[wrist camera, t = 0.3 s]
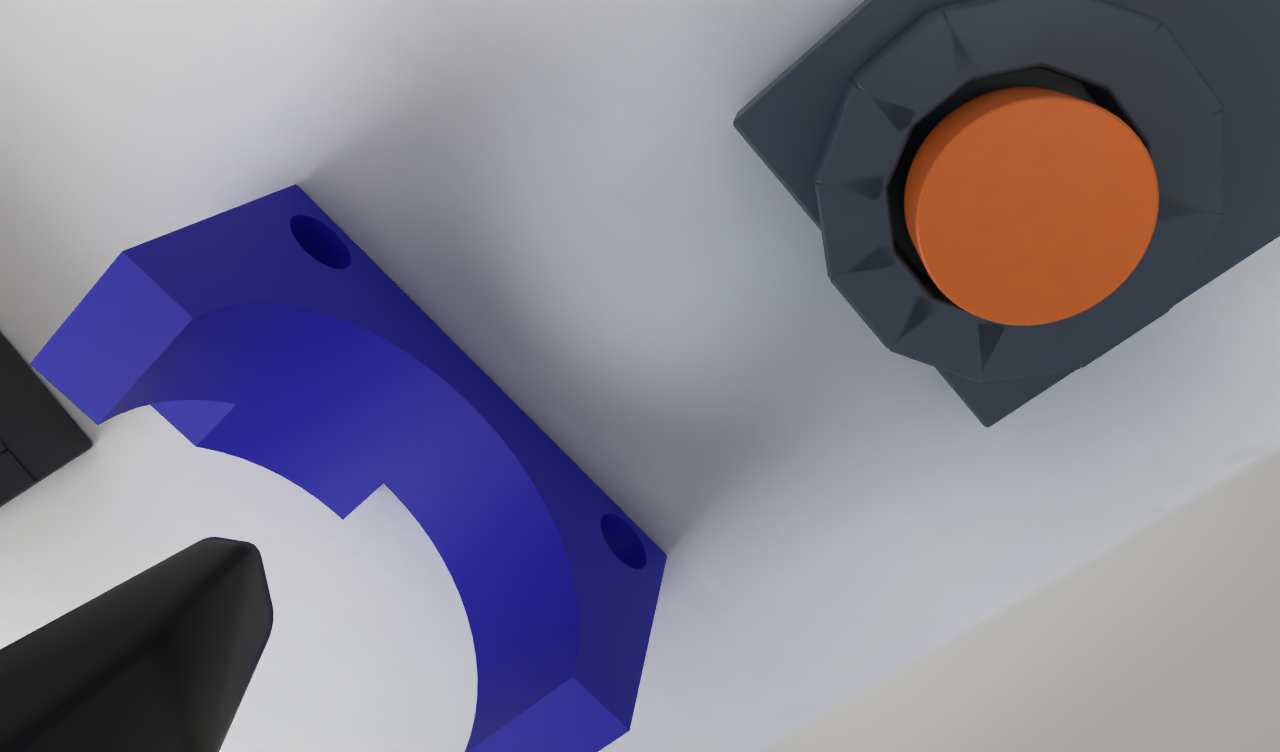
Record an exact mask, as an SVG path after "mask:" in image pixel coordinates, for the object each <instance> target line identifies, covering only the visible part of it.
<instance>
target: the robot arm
mask: <svg viewBox="0 0 1280 752" xmlns="http://www.w3.org/2000/svg"><path fill="white" fill-rule="evenodd" d="M272 624H273V607H272V602H271V598H270V593H269V589H268V584H267V580H266V576H265V571H264V567H263V562H262V558H261V555H260V552H259V550H258V549H257V548H256V546H255V545H254V544H251V543H249V542H244V541H238V540H231V539H225V538H219V537H209V538H206V539H203V540H201V541H199V542H197V543H195V544H193V545H191V546H189V547H187V548H186V549H184V550H182V551H180V552H178V553H176V554H175V555H173V556H171V557H169V558H167V559H166V560H164V561H162V562H160V563H158V564H156V565H155V566H153V567H151V568H149V569H147V570H145V571H144V572H142V573H140V574H138V575H136V576H134V577H133V578H131V579H129V580H127V581H125V582H123V583H122V584H120V585H118V586H116V587H114V588H112V589H111V590H109V591H107V592H105V593H103V594H101V595H100V596H98V597H96V598H94V599H92V600H90V601H89V602H87V603H85V604H83V605H81V606H79V607H78V608H76V609H74V610H72V611H70V612H68V613H67V614H65V615H63V616H61V617H59V618H57V619H56V620H54V621H52V622H50V623H48V624H47V625H45V626H43V627H41V628H39V629H37V630H36V631H34V632H32V633H30V634H28V635H26V636H25V637H23V638H21V639H19V640H17V641H15V642H14V643H12V644H10V645H8V646H6V647H4V648H3V649H1V650H0V752H219V750H220V748H221V746H222V744H223V741H224V739H225V737H226V735H227V732H228V730H229V728H230V725H231V723H232V721H233V719H234V716H235V714H236V712H237V710H238V707H239V705H240V703H241V700H242V698H243V696H244V694H245V691H246V689H247V687H248V684H249V682H250V680H251V678H252V675H253V673H254V671H255V669H256V666H257V664H258V662H259V659H260V657H261V655H262V653H263V650H264V648H265V646H266V644H267V641H268V639H269V636H270V633H271V629H272Z"/></svg>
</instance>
